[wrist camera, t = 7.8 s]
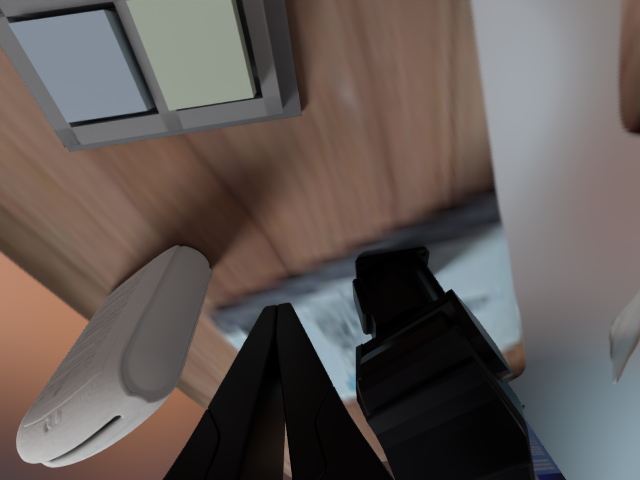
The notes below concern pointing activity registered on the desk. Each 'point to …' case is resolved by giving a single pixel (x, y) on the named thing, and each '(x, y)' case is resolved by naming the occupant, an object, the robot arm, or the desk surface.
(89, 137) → the keypad board
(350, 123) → the desk surface
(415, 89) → the desk surface
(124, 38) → the slate-blue key
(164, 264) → the photo printer
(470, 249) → the desk surface
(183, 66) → the sage key
